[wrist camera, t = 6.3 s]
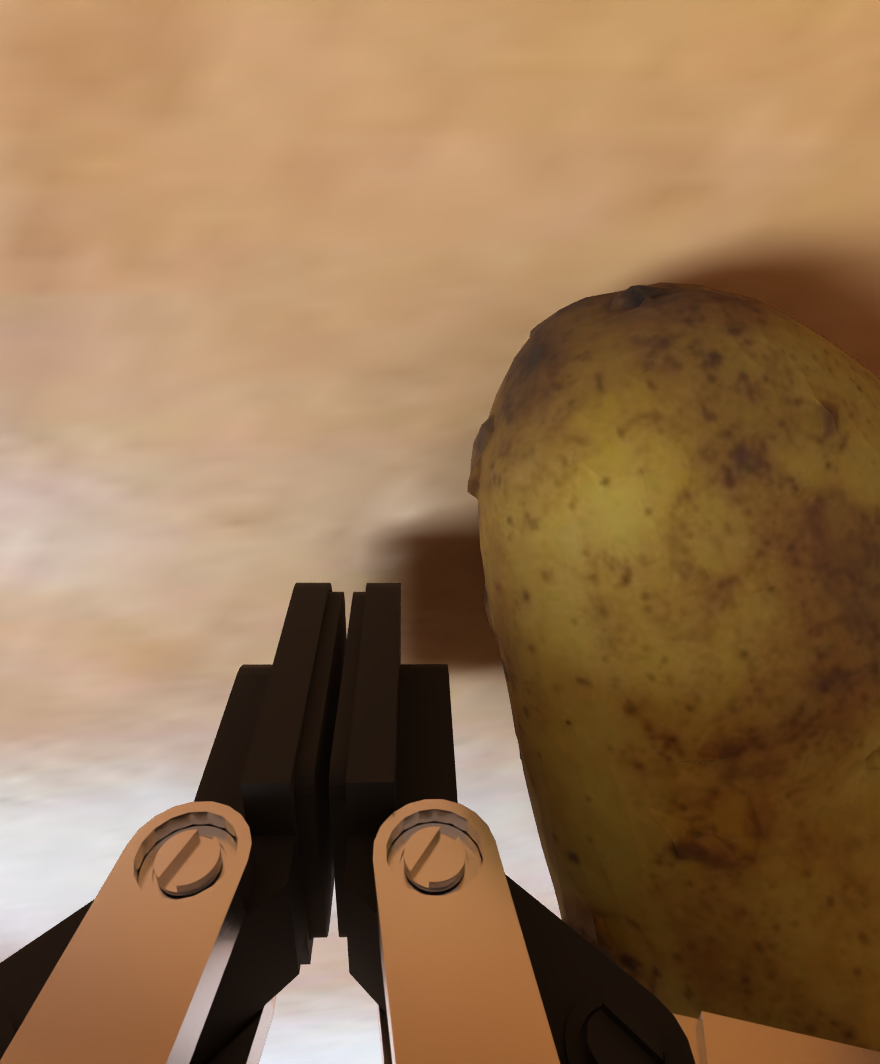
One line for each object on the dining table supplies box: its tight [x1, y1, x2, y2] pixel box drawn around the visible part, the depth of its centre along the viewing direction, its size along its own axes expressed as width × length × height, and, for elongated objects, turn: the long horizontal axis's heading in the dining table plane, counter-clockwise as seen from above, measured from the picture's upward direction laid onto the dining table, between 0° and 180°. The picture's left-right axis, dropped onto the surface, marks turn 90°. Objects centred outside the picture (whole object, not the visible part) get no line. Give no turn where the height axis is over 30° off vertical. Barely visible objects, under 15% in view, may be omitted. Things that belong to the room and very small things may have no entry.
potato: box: [467, 283, 880, 1052], centre depth 9 cm, size 8×13×8 cm, turn 7°
